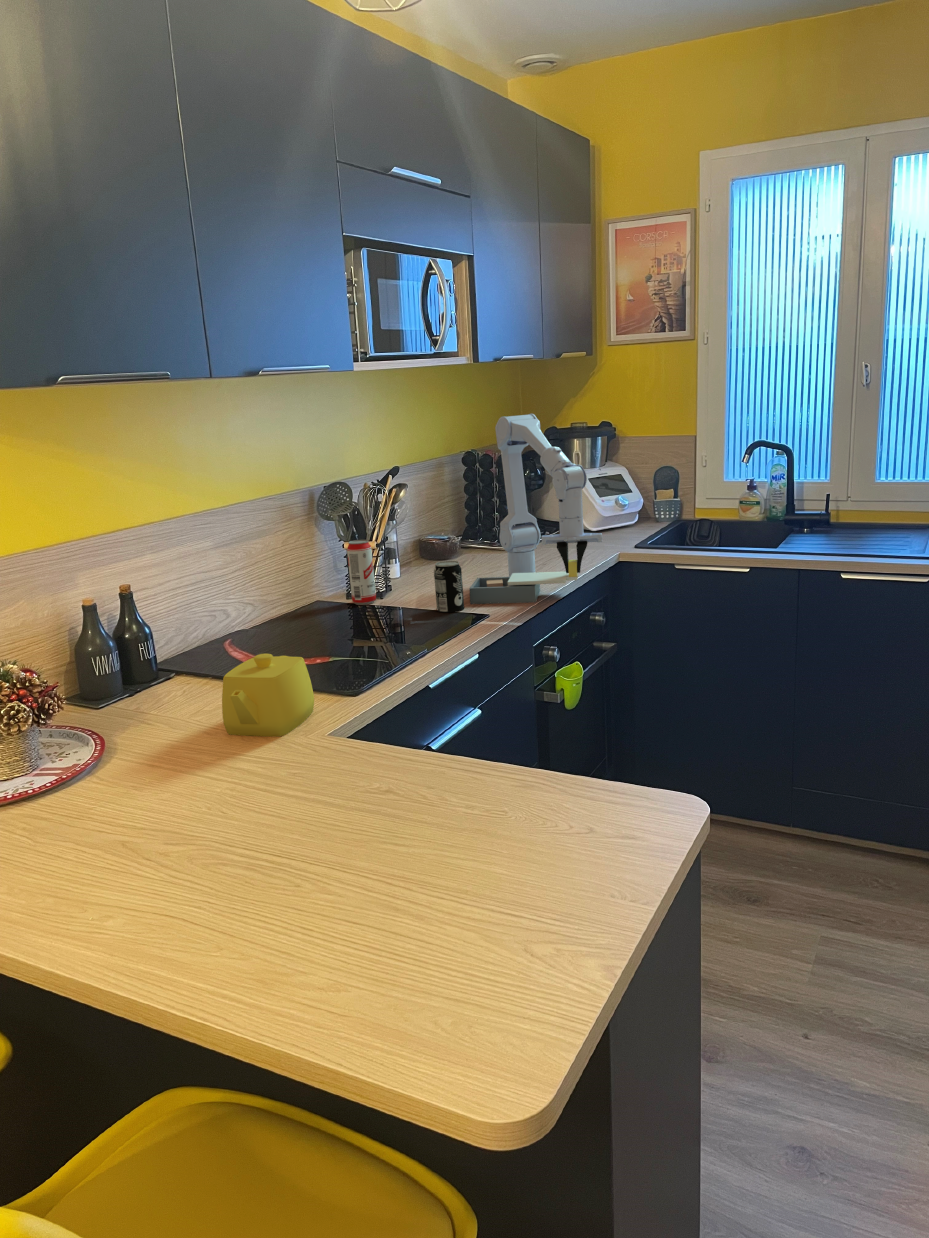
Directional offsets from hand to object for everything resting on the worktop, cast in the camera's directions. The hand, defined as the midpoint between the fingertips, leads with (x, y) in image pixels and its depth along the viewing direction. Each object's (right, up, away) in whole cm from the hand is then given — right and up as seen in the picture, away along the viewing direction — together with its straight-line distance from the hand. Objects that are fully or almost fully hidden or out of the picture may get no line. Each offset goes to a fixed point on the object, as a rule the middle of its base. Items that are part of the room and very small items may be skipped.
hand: (573, 572), depth 221 cm
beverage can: (-30, -10, -3) cm, 32 cm away
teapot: (-59, -29, -69) cm, 96 cm away
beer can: (-52, -7, +13) cm, 54 cm away
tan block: (-19, -5, +7) cm, 21 cm away
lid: (-7, -2, +2) cm, 7 cm away
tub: (-16, -7, +5) cm, 18 cm away
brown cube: (-14, -7, +2) cm, 15 cm away
